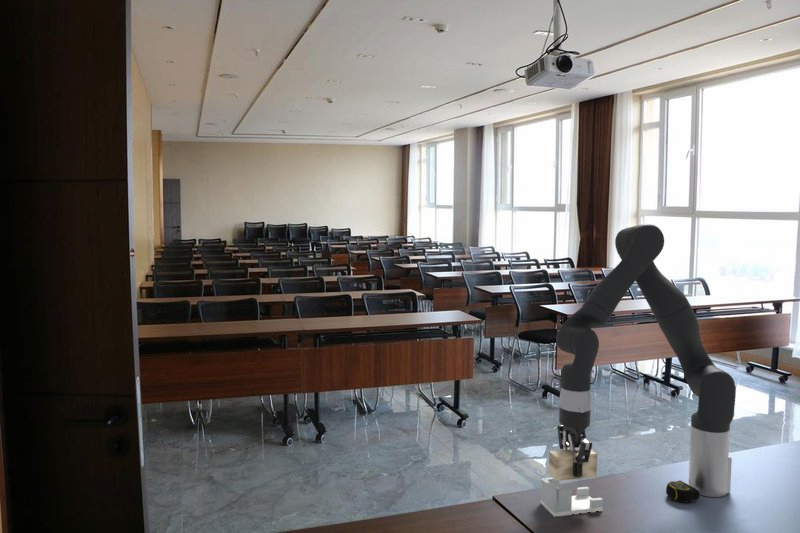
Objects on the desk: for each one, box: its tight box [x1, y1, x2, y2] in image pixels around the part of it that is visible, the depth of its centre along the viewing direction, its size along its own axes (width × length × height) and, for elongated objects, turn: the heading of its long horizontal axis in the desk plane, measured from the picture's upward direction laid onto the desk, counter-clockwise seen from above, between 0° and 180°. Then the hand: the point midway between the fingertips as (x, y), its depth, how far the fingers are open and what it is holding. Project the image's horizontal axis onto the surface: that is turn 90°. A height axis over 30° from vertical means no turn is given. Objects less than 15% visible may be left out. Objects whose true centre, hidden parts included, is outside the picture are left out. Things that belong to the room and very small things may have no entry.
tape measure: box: [665, 480, 701, 503], centre depth 164 cm, size 7×7×4 cm
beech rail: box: [548, 449, 598, 482], centre depth 159 cm, size 11×4×6 cm, turn 103°
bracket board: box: [540, 476, 604, 518], centre depth 159 cm, size 13×8×6 cm, turn 103°
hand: (572, 472), depth 159 cm, fingers closed on beech rail, 4 cm apart
